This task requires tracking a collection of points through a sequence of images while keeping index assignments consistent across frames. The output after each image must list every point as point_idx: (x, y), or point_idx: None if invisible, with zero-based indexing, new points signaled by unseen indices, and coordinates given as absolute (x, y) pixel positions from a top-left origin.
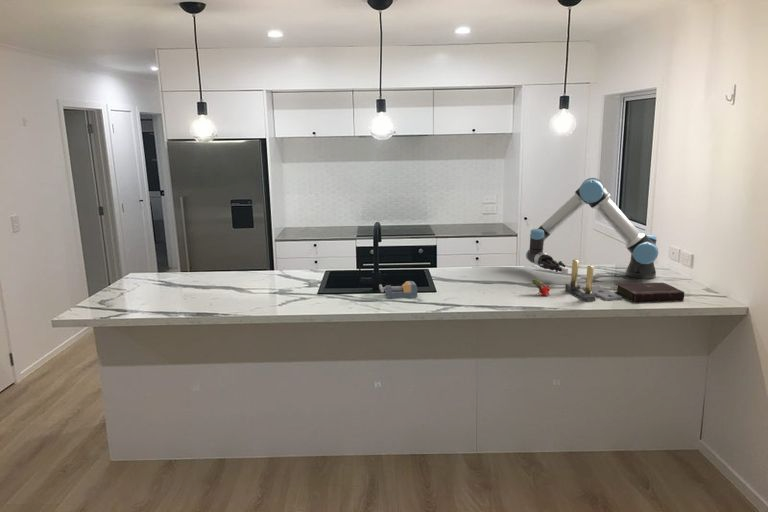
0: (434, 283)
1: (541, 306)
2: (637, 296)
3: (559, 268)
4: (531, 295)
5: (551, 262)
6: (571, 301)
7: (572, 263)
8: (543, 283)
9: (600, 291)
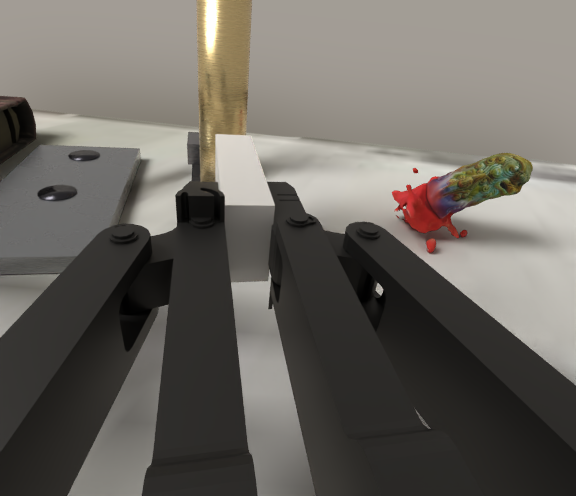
0: None
1: (429, 164)
2: (18, 107)
3: (290, 186)
4: (488, 235)
5: (382, 434)
6: (300, 173)
7: (251, 4)
8: (448, 174)
9: (67, 189)
